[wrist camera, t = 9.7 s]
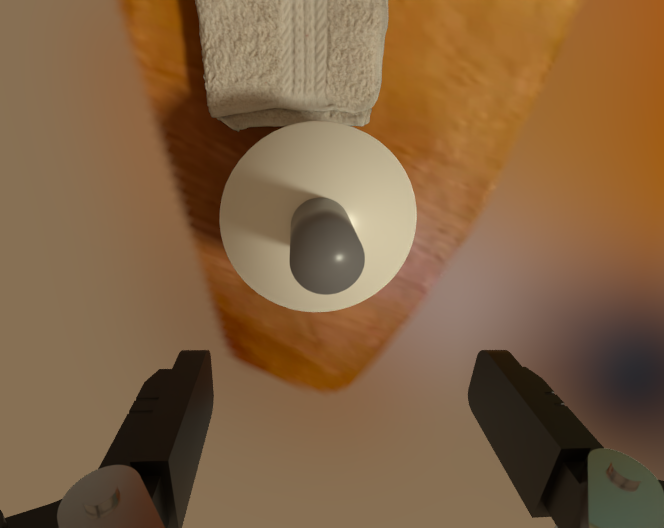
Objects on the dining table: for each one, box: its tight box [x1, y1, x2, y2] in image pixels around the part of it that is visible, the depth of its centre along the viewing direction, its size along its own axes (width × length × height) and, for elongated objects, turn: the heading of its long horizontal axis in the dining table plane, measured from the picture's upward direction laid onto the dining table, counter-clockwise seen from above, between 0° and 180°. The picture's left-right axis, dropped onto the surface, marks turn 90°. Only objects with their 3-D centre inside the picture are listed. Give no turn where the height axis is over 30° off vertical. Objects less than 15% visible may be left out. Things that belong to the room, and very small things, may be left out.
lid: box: [219, 121, 417, 312], centre depth 21 cm, size 12×12×7 cm
